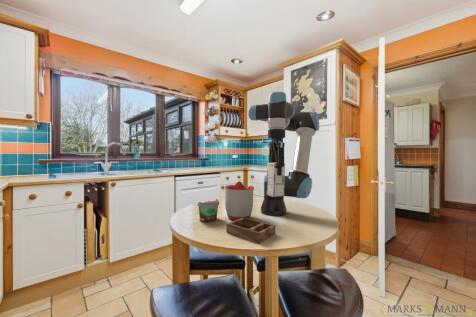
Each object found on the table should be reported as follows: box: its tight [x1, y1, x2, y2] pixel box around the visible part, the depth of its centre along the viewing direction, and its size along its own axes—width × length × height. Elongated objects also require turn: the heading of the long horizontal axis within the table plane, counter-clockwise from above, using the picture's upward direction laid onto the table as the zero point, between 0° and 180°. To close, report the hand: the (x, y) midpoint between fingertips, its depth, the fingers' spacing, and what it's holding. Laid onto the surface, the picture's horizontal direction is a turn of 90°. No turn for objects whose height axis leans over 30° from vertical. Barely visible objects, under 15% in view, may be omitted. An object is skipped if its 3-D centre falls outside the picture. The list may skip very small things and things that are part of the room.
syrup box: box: [266, 162, 286, 197], centre depth 96 cm, size 6×6×14 cm
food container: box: [197, 198, 220, 223], centre depth 113 cm, size 12×6×10 cm, turn 131°
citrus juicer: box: [224, 180, 254, 221], centre depth 119 cm, size 16×17×20 cm
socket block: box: [226, 217, 276, 245], centre depth 96 cm, size 12×18×4 cm
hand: (275, 181), depth 96 cm, fingers closed on syrup box, 6 cm apart
